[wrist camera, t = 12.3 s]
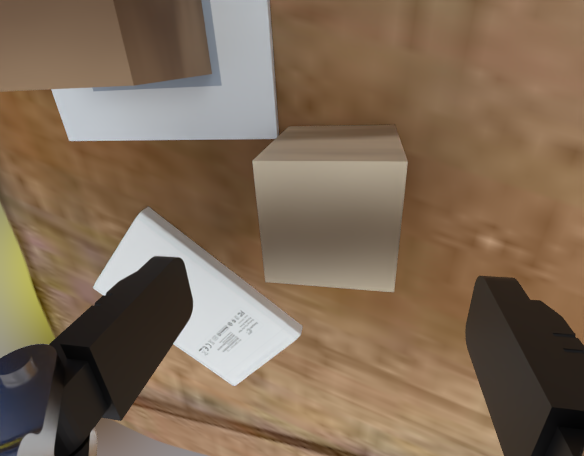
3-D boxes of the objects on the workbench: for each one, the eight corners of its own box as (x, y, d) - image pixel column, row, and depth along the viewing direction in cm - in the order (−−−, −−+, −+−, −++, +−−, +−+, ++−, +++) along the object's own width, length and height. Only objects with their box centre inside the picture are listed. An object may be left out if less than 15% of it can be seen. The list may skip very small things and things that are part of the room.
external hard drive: (153, 202, 21) (305, 320, 23) (106, 276, 25) (238, 372, 27) (137, 213, 20) (300, 338, 21) (90, 289, 23) (231, 390, 25)
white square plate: (-27, -157, 14) (-37, -163, 13) (253, -223, 11) (250, -232, 11) (74, 139, 19) (69, 141, 19) (279, 137, 17) (277, 139, 16)
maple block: (288, 126, 17) (252, 160, 11) (394, 124, 16) (407, 161, 10) (293, 218, 19) (265, 281, 14) (386, 221, 18) (394, 292, 13)
